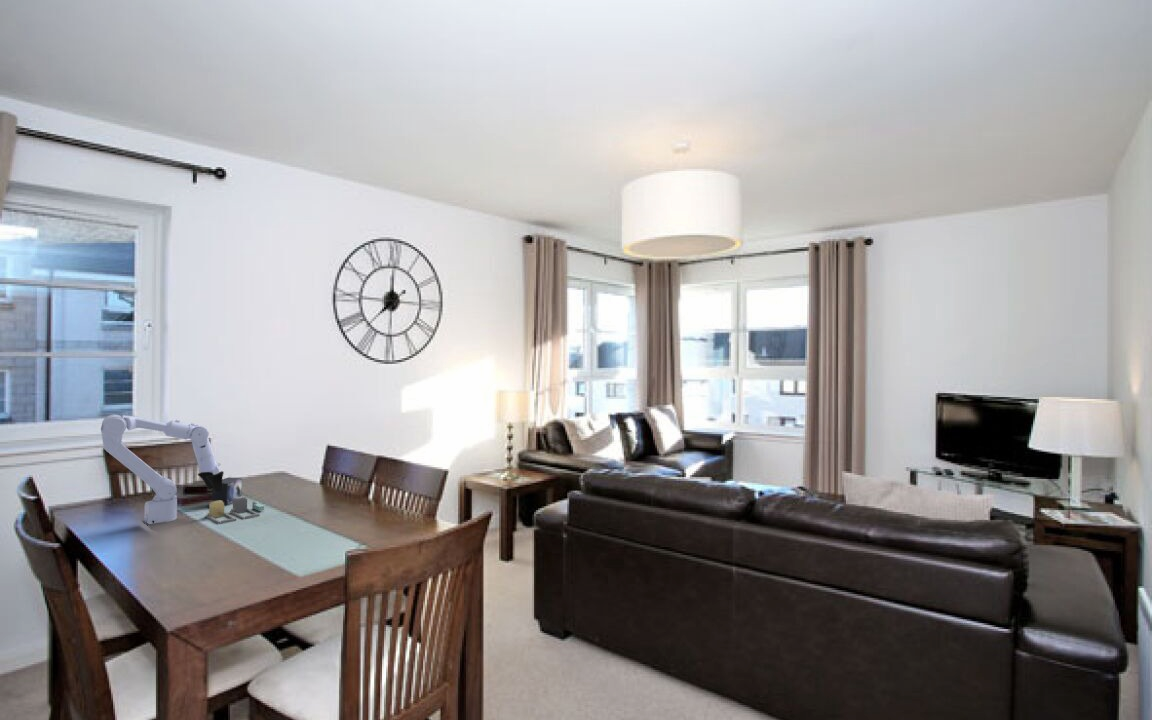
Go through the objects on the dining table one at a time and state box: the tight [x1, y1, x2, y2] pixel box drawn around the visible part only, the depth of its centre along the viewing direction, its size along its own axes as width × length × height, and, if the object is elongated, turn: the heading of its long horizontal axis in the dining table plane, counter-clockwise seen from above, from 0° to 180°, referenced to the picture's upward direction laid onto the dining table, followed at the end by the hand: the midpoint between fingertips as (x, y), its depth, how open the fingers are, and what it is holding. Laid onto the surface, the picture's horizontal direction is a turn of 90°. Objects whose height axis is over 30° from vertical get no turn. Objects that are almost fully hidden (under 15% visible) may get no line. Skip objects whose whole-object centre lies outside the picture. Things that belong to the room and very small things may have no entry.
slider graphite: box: [232, 495, 248, 514], centre depth 224 cm, size 4×3×6 cm
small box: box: [211, 476, 243, 507], centre depth 238 cm, size 11×6×10 cm, turn 179°
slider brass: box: [208, 500, 225, 519], centre depth 218 cm, size 4×3×6 cm
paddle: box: [251, 501, 265, 512], centre depth 226 cm, size 2×7×3 cm, turn 49°
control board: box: [205, 507, 261, 525], centre depth 219 cm, size 22×16×2 cm
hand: (215, 489), depth 223 cm, fingers open, 7 cm apart
